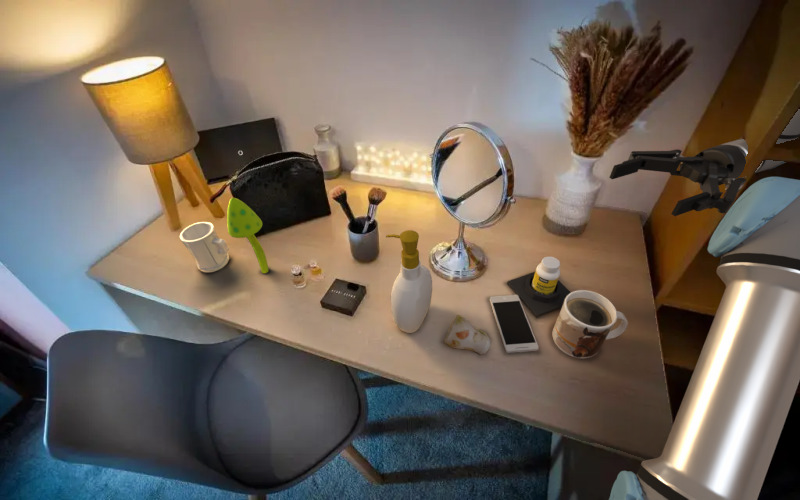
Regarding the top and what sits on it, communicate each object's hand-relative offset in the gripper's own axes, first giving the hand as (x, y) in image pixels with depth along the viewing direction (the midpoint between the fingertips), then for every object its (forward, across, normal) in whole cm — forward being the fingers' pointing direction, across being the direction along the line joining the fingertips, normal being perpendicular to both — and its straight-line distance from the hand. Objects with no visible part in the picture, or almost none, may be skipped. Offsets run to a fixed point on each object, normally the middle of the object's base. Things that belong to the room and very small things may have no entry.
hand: (642, 189), depth 64 cm
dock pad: (+9, +7, -32) cm, 34 cm away
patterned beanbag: (+33, +1, -32) cm, 46 cm away
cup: (+87, +55, -32) cm, 108 cm away
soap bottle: (+42, +13, -32) cm, 54 cm away
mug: (+10, -8, -32) cm, 35 cm away
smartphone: (+21, +2, -32) cm, 38 cm away
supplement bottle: (+9, +7, -31) cm, 33 cm away
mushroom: (+74, +45, -32) cm, 92 cm away
